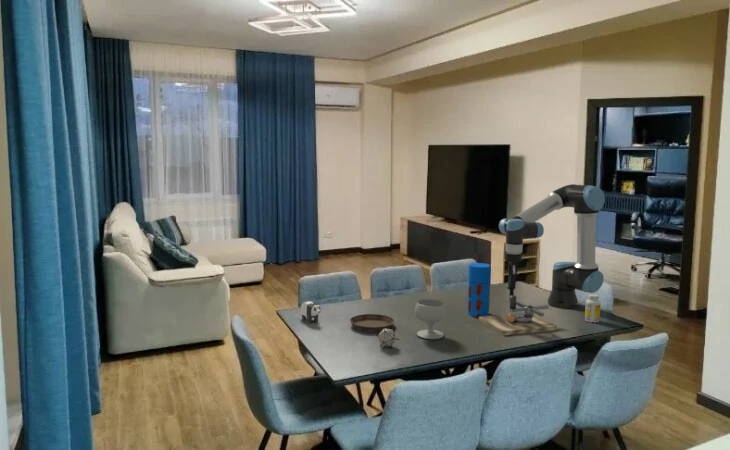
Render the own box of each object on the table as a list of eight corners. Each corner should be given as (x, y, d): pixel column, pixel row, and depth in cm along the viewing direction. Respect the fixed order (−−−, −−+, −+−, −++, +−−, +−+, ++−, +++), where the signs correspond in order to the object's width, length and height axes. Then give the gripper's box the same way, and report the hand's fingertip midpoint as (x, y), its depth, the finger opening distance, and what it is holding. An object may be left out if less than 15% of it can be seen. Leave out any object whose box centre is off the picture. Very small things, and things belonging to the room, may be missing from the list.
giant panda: (299, 318, 266) (299, 299, 265) (310, 316, 269) (309, 297, 268) (314, 326, 254) (314, 306, 253) (324, 324, 257) (324, 304, 256)
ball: (512, 320, 257) (512, 313, 257) (516, 323, 254) (516, 315, 253) (505, 321, 256) (505, 313, 256) (509, 323, 253) (510, 316, 252)
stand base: (529, 316, 273) (529, 311, 272) (556, 330, 252) (557, 325, 252) (478, 320, 265) (478, 316, 264) (502, 335, 244) (503, 330, 244)
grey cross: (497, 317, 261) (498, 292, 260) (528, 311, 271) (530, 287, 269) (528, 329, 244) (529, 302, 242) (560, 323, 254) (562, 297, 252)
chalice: (438, 343, 234) (439, 308, 232) (408, 336, 241) (409, 303, 239) (451, 333, 246) (452, 301, 244) (422, 328, 253) (423, 296, 251)
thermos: (489, 317, 269) (491, 268, 266) (466, 316, 271) (468, 266, 268) (488, 311, 280) (490, 263, 276) (467, 310, 282) (468, 262, 279)
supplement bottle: (599, 320, 267) (601, 294, 266) (599, 323, 261) (601, 297, 260) (584, 318, 270) (586, 292, 268) (584, 321, 264) (585, 295, 262)
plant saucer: (372, 317, 270) (372, 310, 269) (403, 327, 255) (403, 320, 255) (340, 326, 256) (340, 319, 255) (372, 337, 241) (372, 330, 240)
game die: (382, 354, 231) (374, 331, 235) (401, 346, 231) (393, 324, 235) (381, 350, 222) (372, 327, 226) (400, 343, 223) (391, 320, 227)
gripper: (503, 249, 260) (501, 297, 264) (506, 255, 248) (503, 305, 251) (520, 250, 259) (517, 298, 263) (523, 255, 246) (520, 306, 250)
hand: (510, 302), depth 257 cm, fingers closed
